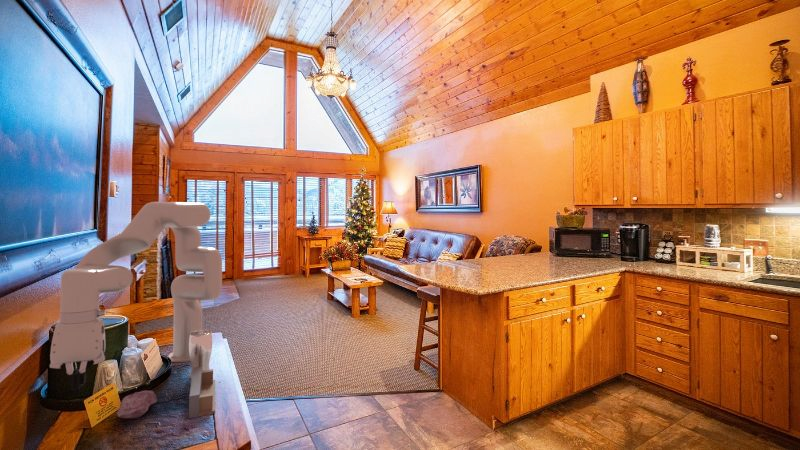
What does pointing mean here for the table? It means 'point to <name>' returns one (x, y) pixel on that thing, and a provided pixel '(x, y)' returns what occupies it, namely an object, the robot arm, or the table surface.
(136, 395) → the pink rounded lump
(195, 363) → the beer glass
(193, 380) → the beige stepped bar
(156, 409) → the table surface
